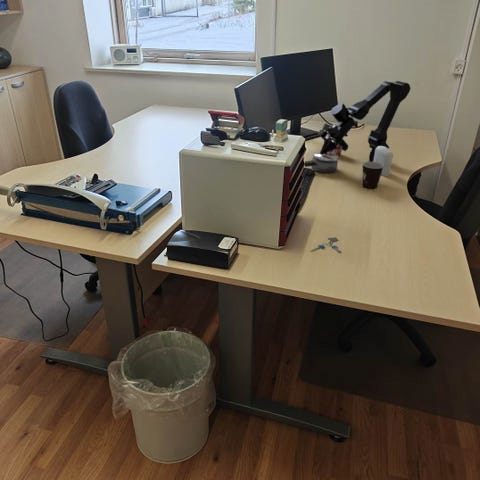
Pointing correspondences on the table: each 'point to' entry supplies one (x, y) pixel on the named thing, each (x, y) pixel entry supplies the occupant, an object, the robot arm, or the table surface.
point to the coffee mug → (371, 174)
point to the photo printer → (383, 159)
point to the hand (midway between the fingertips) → (320, 153)
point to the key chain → (329, 243)
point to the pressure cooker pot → (322, 166)
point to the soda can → (336, 150)
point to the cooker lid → (326, 157)
